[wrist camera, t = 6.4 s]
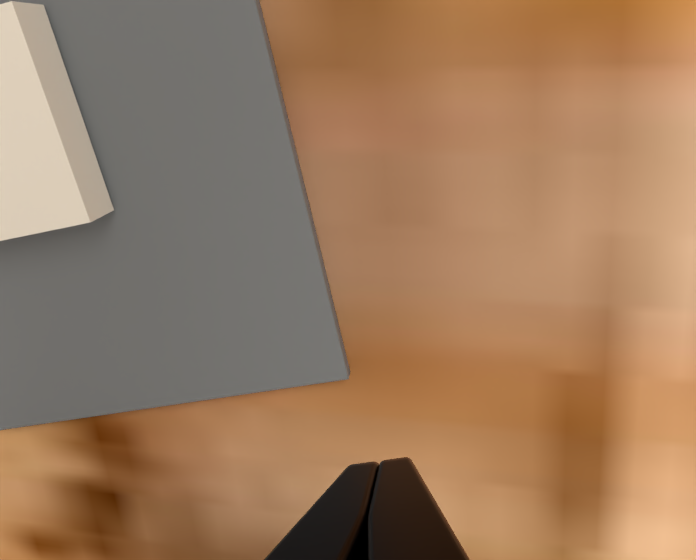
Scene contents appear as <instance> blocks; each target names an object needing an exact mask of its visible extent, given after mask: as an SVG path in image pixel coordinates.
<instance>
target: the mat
mask: <svg viewBox="0 0 696 560" xmlns="http://www.w3.org/2000/svg"><path fill="white" fill-rule="evenodd" d="M10 1H15V2H24V3H32V4H41V5H44V7H45V10H46V13H47V16H48V19H49V22H50V25H51V28H52V31H53V33H54V36H55V39H56V42H57V45H58V48H59V51H60V54H61V57H62V60H63V63H64V66H65V68H66V71H67V74H68V77H69V80H70V83H71V86H72V89H73V92H74V95H75V98H76V101H77V103H78V106H79V109H80V112H81V115H82V118H83V121H84V124H85V127H86V130H87V133H88V135H89V138H90V141H91V144H92V147H93V150H94V153H95V156H96V159H97V162H98V165H99V168H100V170H101V173H102V176H103V179H104V182H105V185H106V188H107V191H108V194H109V197H110V200H111V203H112V205H113V208H114V210H113V211H112V212H110V213H108V214H106V215H104V216H102V217H100V218H98V219H96V220H94V221H92V222H90V223H85V224H80V225H76V226H71V227H66V228H61V229H56V230H51V231H46V232H42V233H37V234H32V235H27V236H22V237H17V238H12V239H8V240H3V241H0V430H4V429H11V428H18V427H25V426H32V425H39V424H45V423H52V422H59V421H66V420H73V419H80V418H86V417H93V416H100V415H107V414H114V413H121V412H127V411H134V410H141V409H148V408H155V407H161V406H168V405H175V404H182V403H189V402H196V401H202V400H209V399H216V398H223V397H230V396H237V395H243V394H250V393H257V392H264V391H271V390H278V389H284V388H291V387H298V386H305V385H312V384H318V383H325V382H332V381H339V380H346V379H349V375H350V369H349V365H348V361H347V357H346V353H345V349H344V344H343V340H342V336H341V332H340V328H339V324H338V320H337V316H336V312H335V308H334V304H333V300H332V295H331V291H330V287H329V283H328V279H327V275H326V271H325V267H324V263H323V259H322V255H321V251H320V247H319V242H318V238H317V234H316V230H315V226H314V222H313V218H312V214H311V210H310V206H309V202H308V198H307V193H306V189H305V185H304V181H303V177H302V173H301V169H300V165H299V161H298V157H297V153H296V149H295V145H294V140H293V136H292V132H291V128H290V124H289V120H288V116H287V112H286V108H285V104H284V100H283V96H282V92H281V87H280V83H279V79H278V75H277V71H276V67H275V63H274V59H273V55H272V51H271V47H270V43H269V38H268V34H267V30H266V26H265V22H264V18H263V14H262V10H261V6H260V2H259V0H0V4H3V3H7V2H10Z"/></svg>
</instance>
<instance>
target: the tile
mask: <svg viewBox="0 0 696 560" xmlns="http://www.w3.org/2000/svg"><path fill="white" fill-rule="evenodd" d="M113 210H114V208H113V205H112V203H111V200H110V197H109V194H108V191H107V188H106V185H105V182H104V179H103V176H102V173H101V170H100V168H99V165H98V162H97V159H96V156H95V153H94V150H93V147H92V144H91V141H90V138H89V135H88V133H87V130H86V127H85V124H84V121H83V118H82V115H81V112H80V109H79V106H78V103H77V101H76V98H75V95H74V92H73V89H72V86H71V83H70V80H69V77H68V74H67V71H66V68H65V66H64V63H63V60H62V57H61V54H60V51H59V48H58V45H57V42H56V39H55V36H54V33H53V31H52V28H51V25H50V22H49V19H48V16H47V13H46V10H45V7H44V5H41V4H32V3H24V2H15V1H10V2H7V3H3V4H0V241H3V240H8V239H12V238H17V237H22V236H27V235H32V234H37V233H42V232H46V231H51V230H56V229H61V228H66V227H71V226H76V225H80V224H85V223H90V222H92V221H94V220H96V219H98V218H100V217H102V216H104V215H106V214H108V213H110V212H112V211H113Z"/></svg>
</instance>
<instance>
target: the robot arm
mask: <svg viewBox="0 0 696 560" xmlns="http://www.w3.org/2000/svg"><path fill="white" fill-rule="evenodd" d="M264 560H469V558H468V556H467V554H466V553H465V551H464V549H463V548H462V546H461V544H460V542H459V541H458V539H457V537H456V536H455V534H454V532H453V530H452V529H451V527H450V525H449V524H448V522H447V520H446V518H445V517H444V515H443V513H442V512H441V510H440V508H439V506H438V505H437V503H436V501H435V500H434V498H433V496H432V494H431V493H430V491H429V489H428V488H427V486H426V484H425V483H424V481H423V479H422V477H421V476H420V474H419V472H418V471H417V469H416V467H415V465H414V464H413V462H412V460H411V459H410V458H407V457H404V458H397V459H390V460H384V461H382V462H381V463H380V465H379V464H378V463H377V462H367V463H360V464H352V465H350V466H348V467H347V468H346V469H345V470H344V471H343V472H342V474H341V475H340V476H339V477H338V478H337V479H336V480H335V481H334V482H333V484H332V485H331V486H330V487H329V488H328V489H327V490H326V491H325V492H324V494H323V495H322V496H321V497H320V498H319V499H318V500H317V501H316V503H315V504H314V505H313V506H312V507H311V508H310V509H309V510H308V511H307V513H306V514H305V515H304V516H303V517H302V518H301V519H300V520H299V521H298V523H297V524H296V525H295V526H294V527H293V528H292V529H291V530H290V531H289V533H288V534H287V535H286V536H285V537H284V538H283V539H282V540H281V541H280V543H279V544H278V545H277V546H276V547H275V548H274V549H273V550H272V552H271V553H270V554H269V555H268V556H267V557H266V558H265V559H264Z"/></svg>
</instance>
